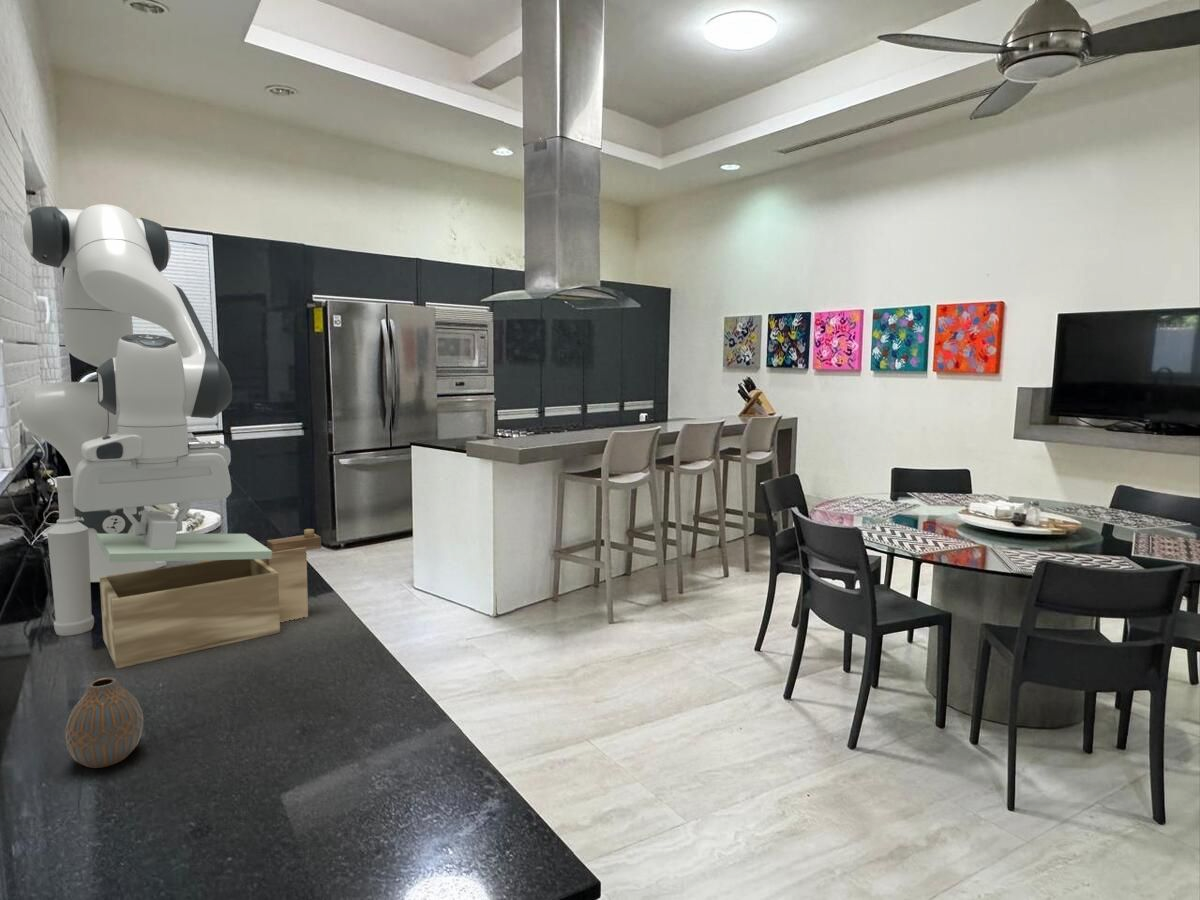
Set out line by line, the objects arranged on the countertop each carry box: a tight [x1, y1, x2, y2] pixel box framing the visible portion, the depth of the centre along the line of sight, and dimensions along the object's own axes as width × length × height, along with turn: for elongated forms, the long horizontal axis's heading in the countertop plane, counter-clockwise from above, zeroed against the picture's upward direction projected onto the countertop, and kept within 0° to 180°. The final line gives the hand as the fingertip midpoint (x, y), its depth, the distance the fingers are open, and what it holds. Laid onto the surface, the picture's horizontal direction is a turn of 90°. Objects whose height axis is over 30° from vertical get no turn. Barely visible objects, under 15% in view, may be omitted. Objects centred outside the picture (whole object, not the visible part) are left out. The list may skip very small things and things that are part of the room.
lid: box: [96, 510, 272, 562], centre depth 108 cm, size 14×21×5 cm
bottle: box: [46, 475, 95, 637], centre depth 110 cm, size 5×5×25 cm
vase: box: [64, 676, 144, 769], centre depth 75 cm, size 7×7×9 cm
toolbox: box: [99, 547, 309, 670], centre depth 111 cm, size 14×28×12 cm, turn 132°
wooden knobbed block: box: [266, 528, 322, 552], centre depth 119 cm, size 3×8×3 cm, turn 132°
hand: (158, 533), depth 106 cm, fingers closed on lid, 3 cm apart
